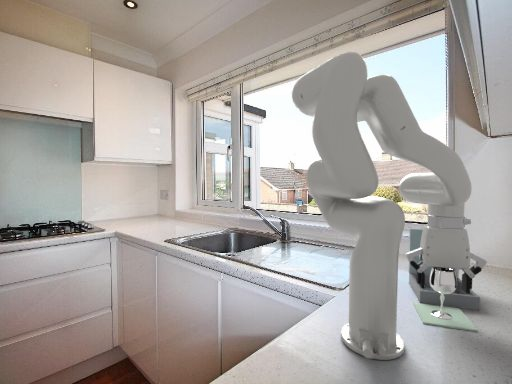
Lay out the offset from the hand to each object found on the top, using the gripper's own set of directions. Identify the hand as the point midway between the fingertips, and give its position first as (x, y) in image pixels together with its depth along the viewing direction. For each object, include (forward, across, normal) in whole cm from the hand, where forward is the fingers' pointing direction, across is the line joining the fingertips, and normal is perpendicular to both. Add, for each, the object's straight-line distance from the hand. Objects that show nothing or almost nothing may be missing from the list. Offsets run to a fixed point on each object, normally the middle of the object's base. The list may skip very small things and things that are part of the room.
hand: (442, 288), depth 69 cm
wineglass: (+7, 0, 0) cm, 7 cm away
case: (+7, -4, -14) cm, 17 cm away
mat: (+7, 0, 0) cm, 7 cm away
